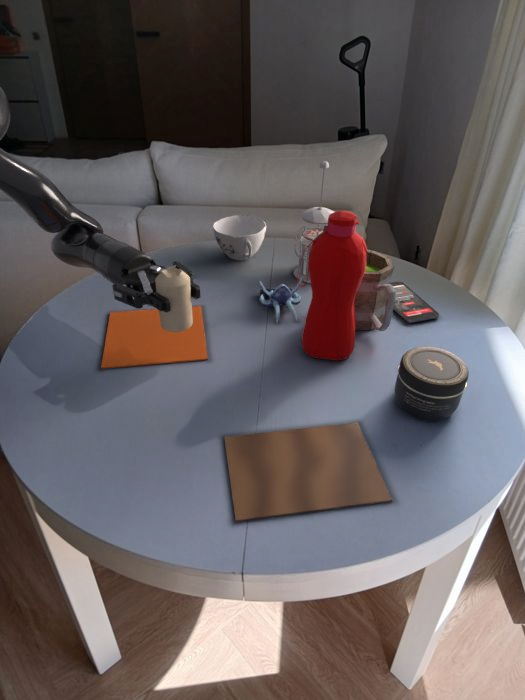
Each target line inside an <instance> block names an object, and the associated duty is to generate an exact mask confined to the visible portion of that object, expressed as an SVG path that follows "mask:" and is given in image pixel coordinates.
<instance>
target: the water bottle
mask: <svg viewBox="0 0 525 700" xmlns="http://www.w3.org/2000/svg"><path fill="white" fill-rule="evenodd" d="M357 225H360V220H358V216H357V214H355V213H353V212H351V211H347V210H337V211H334V213H331V214H330V215H329V218H328V224H327V225H324V226H323V228H324V230H323V232H322V233H320V234H319V235H318V236H317V237H315V238H314V240H313V241H312V242H309V243H308V244H309V245H312V246H311V247H312V249H310V250H311V251H310V253H309V261H308V275H309V273H310V280H311V283H310V286H311V301H310V304H309V306H308V310H307V313H306V316H305V323H304V326H303V329H302V336H301V345H302V349H303V352H304V353H305V354H307V355H308V356H309V357H311V358H314V359H323V360H324V359H325V360H326V359H327V360H330V361H344V360H345V359H348V358H350V356H351V355H352V353H353V351H354V350H355V341H356V330H355V328H356V317H355V306H354V301H355V298H356V295H357V292H358V289H359V286H360V283H361V280H362V278H363V275H364V273H365V271H366V255H367V250H368V247H367V244H366V242H365V239H364V237H362V236H361V235H360V234H359V233H358V232H356V228H357ZM309 245H308V246H309ZM308 246H305V251H304V253H305V254H306V249H308ZM303 255H304V254H303ZM302 258H303V256H302ZM301 261H302V259H301ZM300 264H301V262H300ZM298 266H299V267H300V265H299V264H298ZM298 271H299V269H298ZM296 281H297V285H299V286H300V287H301V288H303V287H305V286H306V285H307V284H308V283H307V282H305V284H301V285H300V284H299V279H298V274H297V278H296ZM307 281H308V279H307Z"/></svg>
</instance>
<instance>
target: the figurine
mask: <svg viewBox="0 0 525 700" xmlns="http://www.w3.org/2000/svg"><path fill="white" fill-rule="evenodd" d="M302 279H303V277H302V278H301V279H300V280H298V283H299V284H300V285H302V282H303V281H302ZM258 283H259V285H260V288H261V289H260V290H259V300H258V301H259V303H260V304H261V306H263V307H265V308H268V307H272V306H273V308H274V316H275V323H276V324H277V323H278V321H279V318H280V315H281V313H280V312H281V308H280V306H283V307H284V306H285V307H286V308H287V309H288V311H289V312H290V314H291V316H292V318H293V319H294V320H295V321H296V322H297V312H296V309H295V307H294V305H295V306H297V305H299V304H300V303H301V301H302V298H301V296H300V295H299V293H297V291H298V290H299V288H300V287H301V286H299V285H298V284H297V285H296V286H295V287H294V288H291V287H288V286H287V285H286V284H284V283H281V284H279V285H278V286H277V287H276V288H265V286H264V284H263V282H261V280H259V282H258Z"/></svg>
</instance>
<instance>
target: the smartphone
mask: <svg viewBox="0 0 525 700" xmlns="http://www.w3.org/2000/svg"><path fill="white" fill-rule="evenodd" d="M390 285H392V286H393V287H394V289H395V291H396V302H395V305H394V309H393V311H395V312H396V313H397V314H398V315H400V317H402V318H403V320H404V321H405V322H407V323H410V324H412V323H416V322H423V321H428V320H434V319H438V318H440V317H439V316H440V313H439V312H438V311H437V310H435V309H434V308H433V307H432V306H431V305H430V304H429V303H427V302H426V301H425V300H424V299H422V297H420V296H419V295H418V294H417V293H416V292H415V291H413V290H412V289H411V288H410V287H409V286H408V285H406V284H405V283H404V282H403V281H392V282H391V281H390ZM387 303H388V299H387V302H386V304H387Z"/></svg>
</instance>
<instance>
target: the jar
mask: <svg viewBox="0 0 525 700" xmlns="http://www.w3.org/2000/svg"><path fill="white" fill-rule="evenodd" d="M469 375H470V374H469V368H468V366H467V364H466V363H465V362H464V360H462V359H461V358H460V357H459V356H457V355H456V354H454V353H452V352H451V351H448V350H445V349H442V348H440V347H439V348H438V347H433V346H419V347H414V348H411V349H409V350H407V351H405V353H403V355H402V357H401V359H400V362H399V365H398V369H397V375H396V380H395V384H394V397H395V401H396V403H397V405H398V406H399V408H400V409H401V410H402V411H403V412H404V413H405V414H407V416H410V417H412V418H414V419H416V420H419V421H423V422H431V423H432V422H440V421H443V420H446V419H448V418H450V417H451V416H452V415H453V414H454V412H455V411H456V410H457V409H458V407H459V405H460V402H461V400H462V397H463V393H464V391H465V390H466V388H467V385H468V381H469V380H468V379H469Z"/></svg>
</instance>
